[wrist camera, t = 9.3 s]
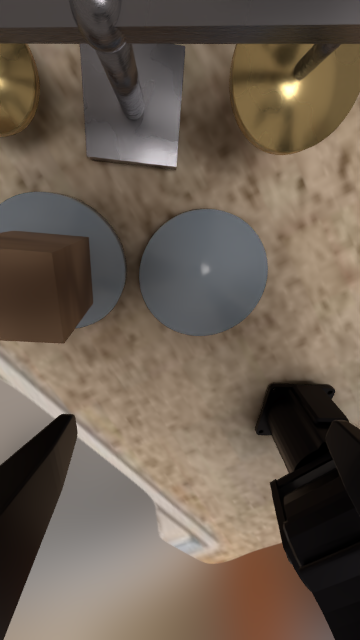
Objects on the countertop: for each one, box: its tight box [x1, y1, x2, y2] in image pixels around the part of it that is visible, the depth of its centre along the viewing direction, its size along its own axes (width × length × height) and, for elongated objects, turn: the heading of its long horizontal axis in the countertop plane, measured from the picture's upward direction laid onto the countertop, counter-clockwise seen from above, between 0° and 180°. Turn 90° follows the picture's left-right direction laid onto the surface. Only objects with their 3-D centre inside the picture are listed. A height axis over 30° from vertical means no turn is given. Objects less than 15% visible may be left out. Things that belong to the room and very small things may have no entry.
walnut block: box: [0, 231, 93, 343], centre depth 13 cm, size 4×4×6 cm
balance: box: [0, 0, 360, 170], centre depth 9 cm, size 17×5×10 cm, turn 85°
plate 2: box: [139, 209, 268, 336], centre depth 17 cm, size 9×9×1 cm
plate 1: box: [0, 192, 127, 328], centre depth 16 cm, size 9×9×1 cm
